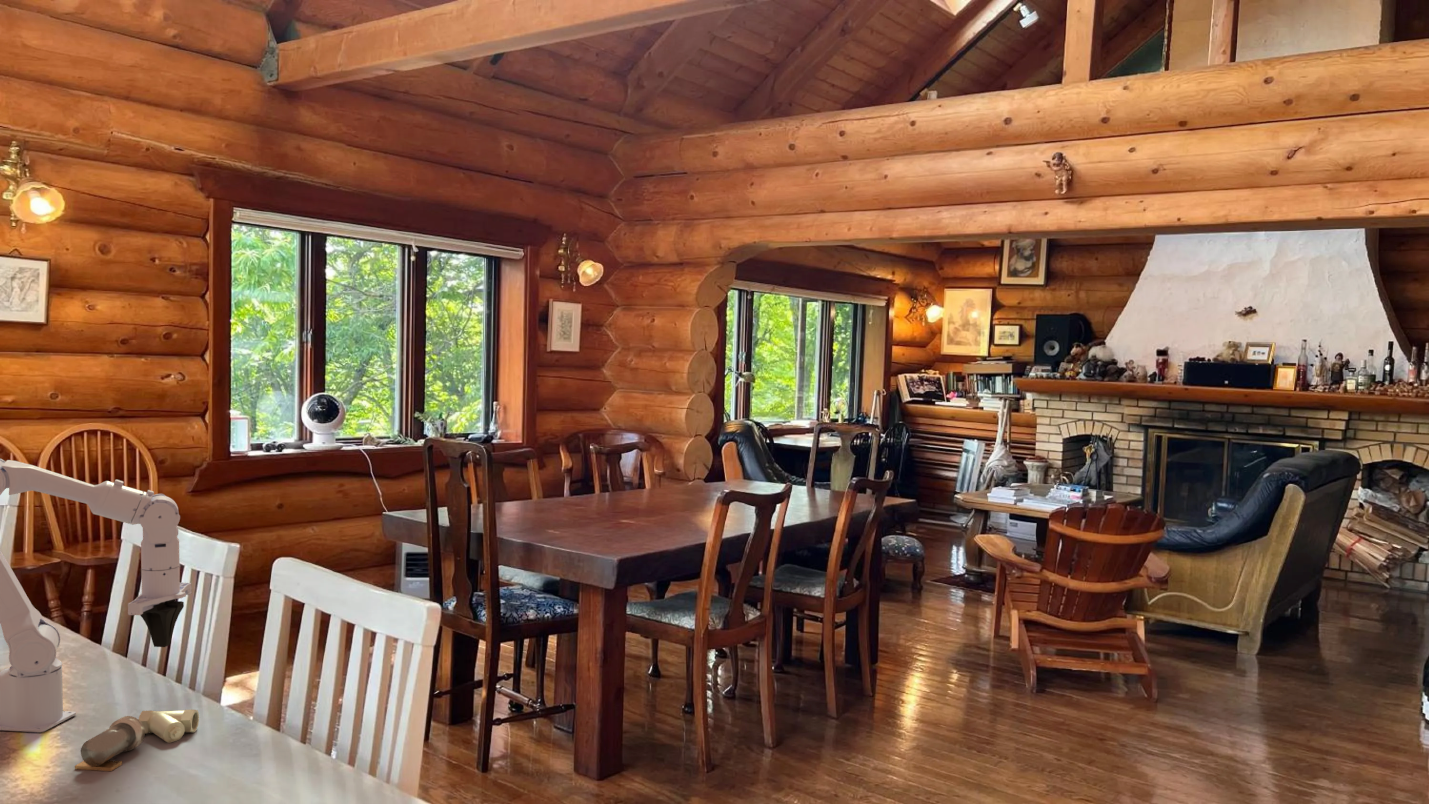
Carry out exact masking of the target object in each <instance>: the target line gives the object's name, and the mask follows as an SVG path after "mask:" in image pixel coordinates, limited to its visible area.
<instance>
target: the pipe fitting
mask: <svg viewBox="0 0 1429 804" xmlns="http://www.w3.org/2000/svg"><path fill="white" fill-rule="evenodd" d="M137 719H138V720H139V721H140V722H141V723H142V724H143V726H144V730H145V734H147V735H148V734H154V735H156V737H158V738H160V739H161V740H163V741H165V742H166V743H169V744H170V743H172V742H176V741H179V740H181V739H182V737H183V735H185V733H196V731H197V729H198V727H199V722H200V713H199V711H198V709H184V710H161V711H160V710H159V711H158V710H142V711H141V712H140V714H139V716H138V718H137Z"/></svg>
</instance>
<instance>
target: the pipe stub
mask: <svg viewBox="0 0 1429 804" xmlns="http://www.w3.org/2000/svg"><path fill="white" fill-rule="evenodd" d="M138 719H139V718H136V717H134V716H131V715H127V716H126V715H125V716H122V717H120V718H118V719H117V720H115V721H113V722H112V723H111V724H110V726H109V728H107V729H106V730H104V731H102V732H101V733H98V734H97V735H95V736H92V738H90V739H87V741H85V742H83V744H82V746H81V747H80V755H81V758H82V760H83V761H81V762H79V763H77V764H76V765H74V770H82V771H85V770H86V771H101V772H102V771H104V772H113V771H114V770H116V769H117V768H118V767H121V766H123V761H122V760H111V759H113V758H114V757H116V756H118V755H119V754H121V753H122V752H129V751H132V750H133V749H135V748H137V747H138V746H140V745H141V744H142V743H143V742H144V739H145V736H146V735H145V730H144V726H143V724H142V723H141V722H140V721H139V720H138Z"/></svg>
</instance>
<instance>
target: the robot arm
mask: <svg viewBox="0 0 1429 804" xmlns="http://www.w3.org/2000/svg"><path fill="white" fill-rule="evenodd" d="M6 489H8V496H12V495H13V496H14V495H17V494H21V493H25V492H26V493H27V492H32V491H33V492H37V493H38V492H39V493H42V494H46V495H50V496H54V497H57V498H62V499H66V500H71V501H74V502H79V503H83V504H86V505H87V506H88V508H89V510H90V512H91V513H92V515H96V516H100V517H103V518H107V519H111V520H115V521H118V522H121V523H125V524H129V525H132V526H133V525H140V526H141V527H142V540H141V541H140V561H141V564H140V566H141V568H140V573H141V575H140V576H141V593H140V594H139V595H138V596H136V598H135V599H134V600H132V601H131V602H128V603H127V615H128V616H140V617H141V619H142V620H143V621H144V623H145V625H146V626H147V630H148V632H149V635H150V638H151V641H152V644H153V647H154V648H166V647H168V646H171V642H172V637H173V635H174V634H173V633H174V630H175V626H176V623H177V620H178V617H179V616H180V614H181V612H182V610H183V609H184V605H185V603H184V601H183V600H181V601H180V600H179V599H183V598H185V597H186V596H189V595H191V594H192V590H193V589H192V582H180V576H181V575H180V539H179V538H178V536H179V528H178V525H179V522H180V520H181V515H180V512H179V507H178V504H177V503H176V501H175V500H174V499H173V498H171V497H169V496H167V495H165V494H164V493H156V494H155V492H154V491H153V490H151V489H147V491H144V490H140V489H137V488H134V487H129V486H125V485H124V481H123V480H120V479H115V480H114V482H112V481H109V480H105V481H103V482H101V483H98V484H92V483H88V482H85V481H84V480H83V481H82V480H79V479H77V478H74V477H69V476H67V475H64V474H61V473H58V472H54V471H51V470H48V469H45V468H42V467H39V466H36V465H33V464H30V463H26V462H22V461H18V460H12V459H11V460H10V459H7V460H4V459H2V458H0V496H1V495H2V494H3V493H4V491H5V490H6ZM176 599H177V600H176ZM0 626H1V631H2V634H3V638H4V641H5V642H6V645H7V647H8V652H9V653H8V663H9V665H10V667H7V668H4V669H2V670H1V671H0V731H7V732H8V731H9V732H28V733H44V732H46V731H48V730H49V729H52V728H54V727H55V726H57V725H60V723H63V722H65V721H66V720H69V719H71V718H73V717H74V716H76V715H77V712H76V711H70V710H69V711H68V710H67V711H66V710H65V711H64V697H63V696H64V693H63V692H64V691H63V688H64V687H63V662H62V661H61V660H60V659H58V657H57V652H58V651H57V650H58V648H59V646H60V643H61V633H60V631H59V630H58V629H57V627H56V626H54V624H51V623H49V622H48V621H46V620H45V618H44V617H43V615H42V613H41V612H40V611H39V610H38V609H36V608H35V606H34V605H33V604H32V602H31V600H30V599H29V597H28V596H27V594H26V592H25V590H24V588H23V586H22V584H21V583H20V581H19V580H18V577H17V576H16V574H15V572H14V571H13V569H12V567H11V565H10V563H9V562H8V560H7V558H6V556H5V555H4V553H3V552H2V549H1V548H0Z"/></svg>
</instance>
